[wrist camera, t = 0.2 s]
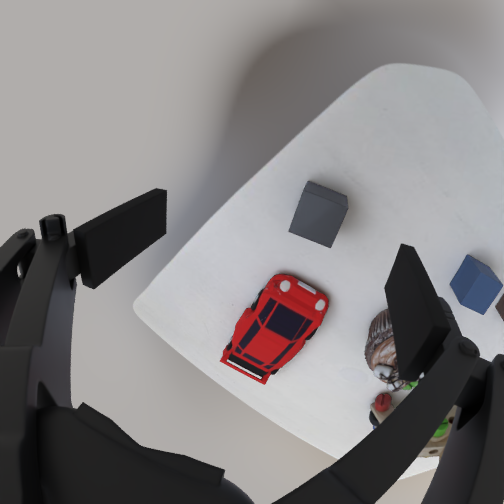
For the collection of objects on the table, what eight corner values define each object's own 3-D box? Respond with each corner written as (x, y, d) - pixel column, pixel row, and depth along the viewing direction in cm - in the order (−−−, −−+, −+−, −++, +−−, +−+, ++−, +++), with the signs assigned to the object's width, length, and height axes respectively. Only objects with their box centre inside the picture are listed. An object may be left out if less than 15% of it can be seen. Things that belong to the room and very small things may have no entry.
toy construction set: (415, 442, 49) (415, 514, 32) (336, 430, 53) (322, 511, 35) (489, 373, 36) (512, 461, 19) (403, 353, 40) (413, 468, 22)
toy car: (337, 294, 39) (335, 316, 34) (276, 372, 49) (269, 393, 44) (269, 260, 39) (260, 278, 35) (223, 347, 49) (213, 366, 45)
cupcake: (435, 323, 36) (450, 371, 27) (390, 359, 41) (394, 407, 32) (397, 289, 36) (409, 338, 27) (350, 330, 41) (349, 381, 32)
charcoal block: (294, 217, 36) (288, 231, 31) (307, 180, 33) (303, 189, 29) (331, 232, 35) (330, 248, 31) (346, 195, 33) (348, 207, 28)
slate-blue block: (449, 283, 33) (460, 304, 29) (467, 254, 30) (480, 272, 26) (472, 295, 32) (483, 315, 28) (489, 267, 30) (503, 285, 26)
